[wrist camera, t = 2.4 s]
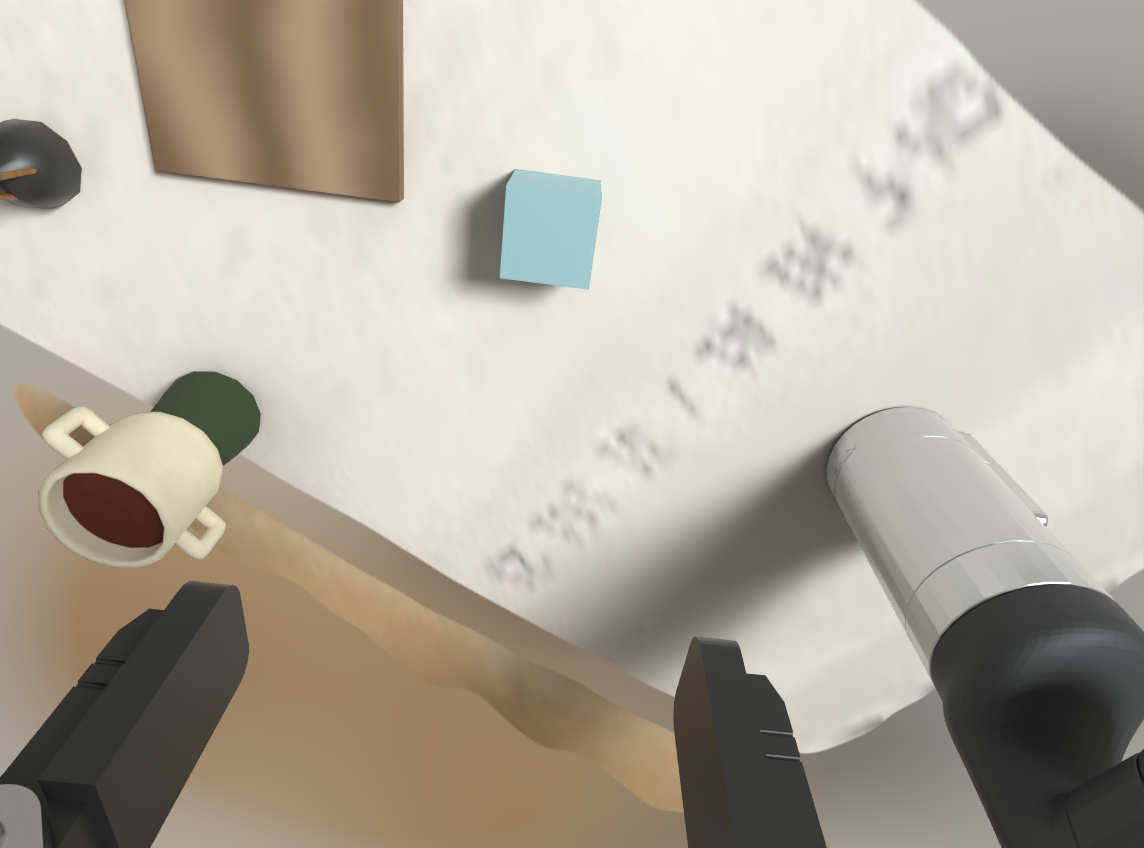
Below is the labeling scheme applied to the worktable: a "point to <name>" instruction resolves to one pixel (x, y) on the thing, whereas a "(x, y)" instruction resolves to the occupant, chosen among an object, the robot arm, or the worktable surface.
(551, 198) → the teal cube
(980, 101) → the worktable surface
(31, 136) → the wooden tabletop sculpture
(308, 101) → the walnut board
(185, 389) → the character mug
